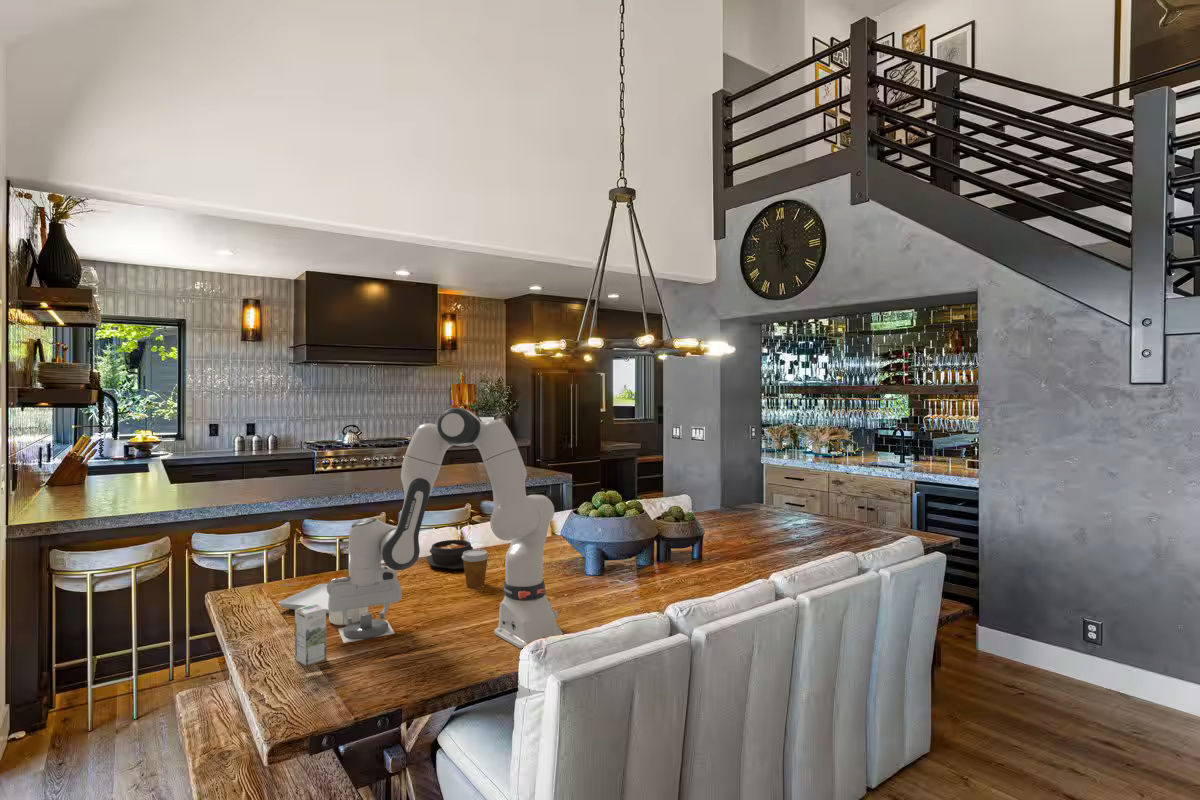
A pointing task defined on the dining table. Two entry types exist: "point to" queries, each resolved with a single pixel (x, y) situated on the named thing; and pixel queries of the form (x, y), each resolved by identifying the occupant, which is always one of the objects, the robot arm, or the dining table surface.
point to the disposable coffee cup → (475, 567)
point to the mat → (345, 639)
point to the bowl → (353, 613)
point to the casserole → (448, 554)
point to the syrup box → (310, 634)
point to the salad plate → (308, 598)
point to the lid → (365, 628)
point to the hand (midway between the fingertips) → (365, 621)
